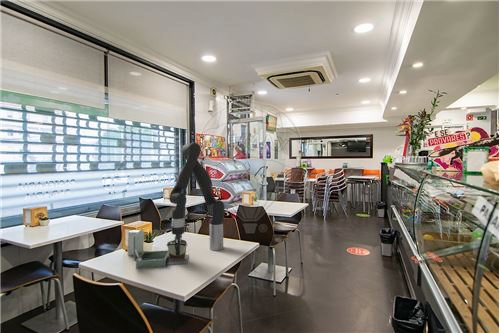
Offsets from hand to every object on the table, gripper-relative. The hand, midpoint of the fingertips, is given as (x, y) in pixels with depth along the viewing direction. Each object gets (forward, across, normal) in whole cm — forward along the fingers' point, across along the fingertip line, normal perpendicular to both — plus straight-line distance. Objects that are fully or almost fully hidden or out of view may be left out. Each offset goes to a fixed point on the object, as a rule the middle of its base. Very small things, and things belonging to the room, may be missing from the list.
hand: (178, 253), depth 158 cm
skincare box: (+4, +16, +29) cm, 33 cm away
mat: (+4, 0, 0) cm, 4 cm away
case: (+4, -1, +14) cm, 15 cm away
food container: (+3, +1, 0) cm, 3 cm away
